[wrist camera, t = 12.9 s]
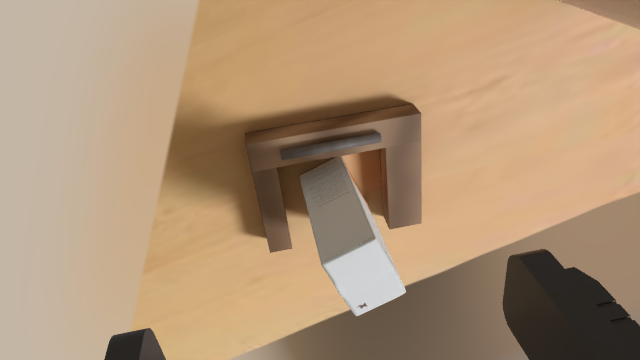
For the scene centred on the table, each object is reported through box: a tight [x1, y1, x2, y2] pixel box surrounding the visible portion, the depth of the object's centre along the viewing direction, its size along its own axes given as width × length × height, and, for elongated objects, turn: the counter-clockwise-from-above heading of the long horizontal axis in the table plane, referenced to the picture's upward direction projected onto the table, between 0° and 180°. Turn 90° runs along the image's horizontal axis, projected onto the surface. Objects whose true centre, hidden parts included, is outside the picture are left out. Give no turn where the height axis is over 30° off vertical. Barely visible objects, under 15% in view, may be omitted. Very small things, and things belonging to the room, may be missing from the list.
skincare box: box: [299, 156, 406, 316], centre depth 38 cm, size 6×4×12 cm
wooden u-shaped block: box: [245, 104, 421, 253], centre depth 41 cm, size 14×11×3 cm
